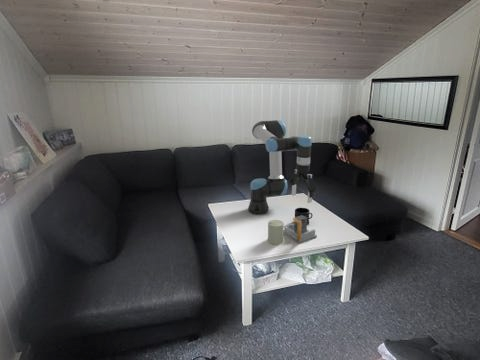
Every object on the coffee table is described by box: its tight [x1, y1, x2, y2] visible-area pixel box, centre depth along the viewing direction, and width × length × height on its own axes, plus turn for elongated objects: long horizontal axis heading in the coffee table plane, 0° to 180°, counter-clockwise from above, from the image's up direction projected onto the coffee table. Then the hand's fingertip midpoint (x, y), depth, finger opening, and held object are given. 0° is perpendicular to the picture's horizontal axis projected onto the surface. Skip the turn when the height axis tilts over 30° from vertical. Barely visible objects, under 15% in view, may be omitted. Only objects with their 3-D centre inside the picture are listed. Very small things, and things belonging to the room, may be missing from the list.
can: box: [267, 219, 285, 246], centre depth 172 cm, size 9×9×12 cm
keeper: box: [283, 217, 318, 244], centre depth 178 cm, size 16×14×14 cm
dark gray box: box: [293, 215, 308, 234], centre depth 178 cm, size 5×6×10 cm
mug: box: [294, 207, 313, 226], centre depth 195 cm, size 9×12×9 cm
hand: (301, 198), depth 174 cm, fingers open, 13 cm apart
